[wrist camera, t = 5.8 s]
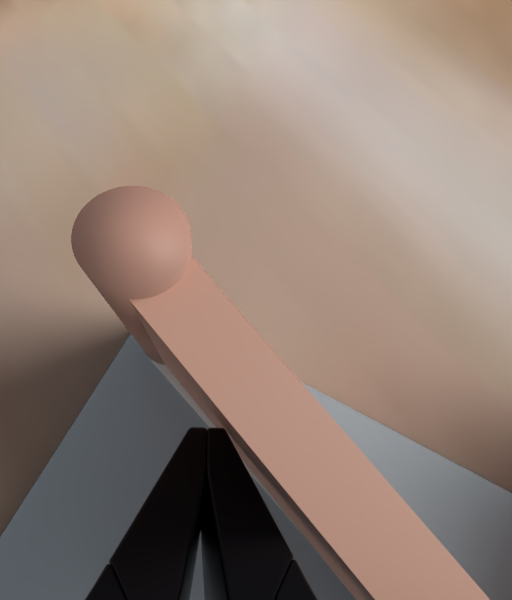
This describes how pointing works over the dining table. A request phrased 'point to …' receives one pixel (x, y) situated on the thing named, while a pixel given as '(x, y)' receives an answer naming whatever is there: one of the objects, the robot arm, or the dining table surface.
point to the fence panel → (259, 401)
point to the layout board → (186, 413)
